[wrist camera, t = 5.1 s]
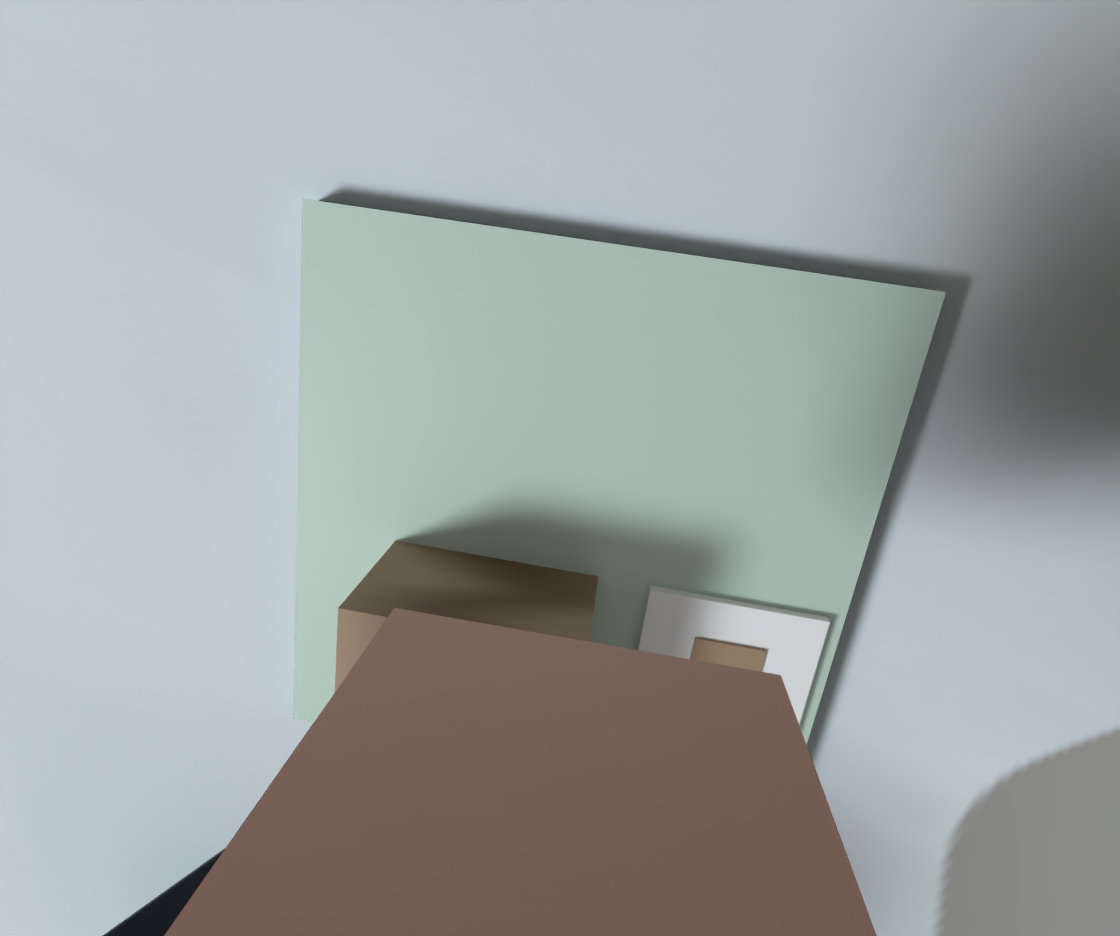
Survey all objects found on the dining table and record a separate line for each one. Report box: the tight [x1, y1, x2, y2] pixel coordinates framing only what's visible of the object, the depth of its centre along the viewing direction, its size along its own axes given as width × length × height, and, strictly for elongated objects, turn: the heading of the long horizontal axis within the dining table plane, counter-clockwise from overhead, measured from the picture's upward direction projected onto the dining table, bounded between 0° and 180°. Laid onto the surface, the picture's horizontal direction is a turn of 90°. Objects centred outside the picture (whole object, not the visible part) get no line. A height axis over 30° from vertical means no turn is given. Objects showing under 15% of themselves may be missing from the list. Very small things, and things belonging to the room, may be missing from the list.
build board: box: [294, 199, 946, 745], centre depth 19 cm, size 16×16×1 cm
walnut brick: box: [335, 541, 598, 692], centre depth 19 cm, size 6×6×4 cm
